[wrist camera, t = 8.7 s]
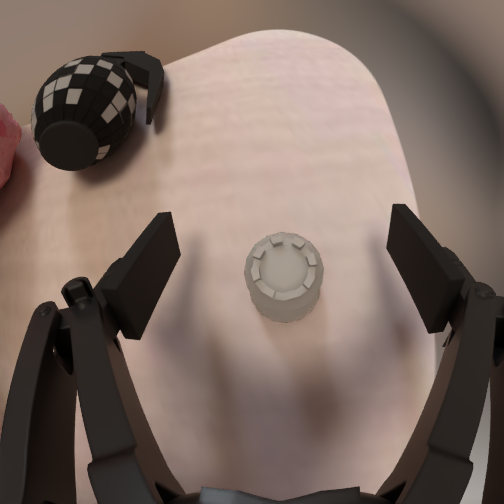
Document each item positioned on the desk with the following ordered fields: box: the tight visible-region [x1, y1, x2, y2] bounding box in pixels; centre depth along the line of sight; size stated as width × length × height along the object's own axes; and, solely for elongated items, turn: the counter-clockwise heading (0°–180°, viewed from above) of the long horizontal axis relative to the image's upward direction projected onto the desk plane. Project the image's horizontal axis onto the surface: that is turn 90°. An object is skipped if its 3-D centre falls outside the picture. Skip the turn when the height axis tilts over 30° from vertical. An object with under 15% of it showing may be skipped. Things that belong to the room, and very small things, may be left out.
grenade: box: [31, 51, 164, 171], centre depth 20 cm, size 11×9×15 cm
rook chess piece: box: [244, 232, 324, 323], centre depth 15 cm, size 4×4×8 cm
